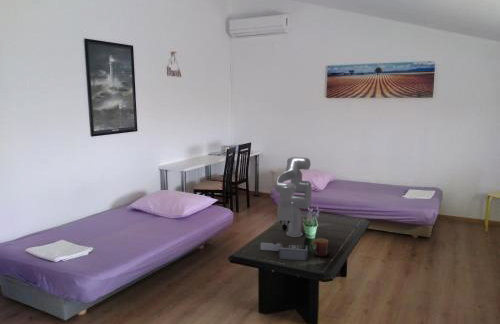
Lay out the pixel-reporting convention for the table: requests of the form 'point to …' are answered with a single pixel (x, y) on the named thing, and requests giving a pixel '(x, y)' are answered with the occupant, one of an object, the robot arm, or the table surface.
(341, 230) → the table surface
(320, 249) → the mug
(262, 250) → the track
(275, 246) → the lock bar
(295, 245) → the lock block
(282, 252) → the grey open bin
